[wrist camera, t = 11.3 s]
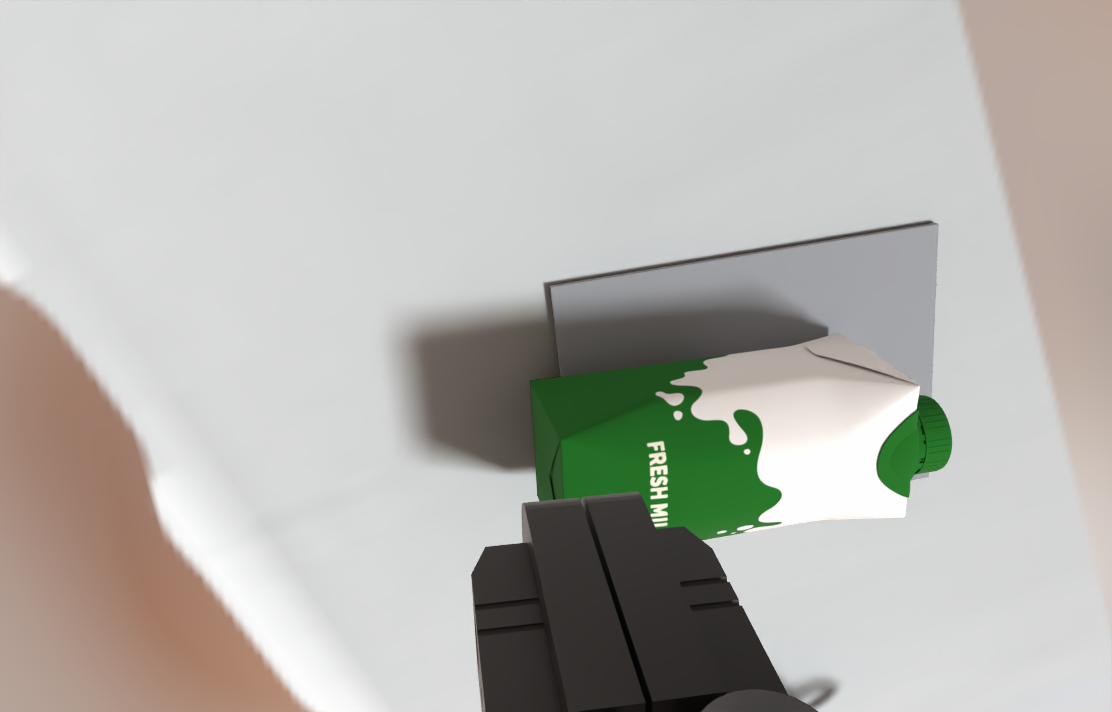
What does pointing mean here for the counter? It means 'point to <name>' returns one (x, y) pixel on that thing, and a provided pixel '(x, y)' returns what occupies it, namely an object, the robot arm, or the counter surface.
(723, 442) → the milk carton
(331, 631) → the counter surface
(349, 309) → the counter surface
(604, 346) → the slate mat
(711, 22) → the counter surface
